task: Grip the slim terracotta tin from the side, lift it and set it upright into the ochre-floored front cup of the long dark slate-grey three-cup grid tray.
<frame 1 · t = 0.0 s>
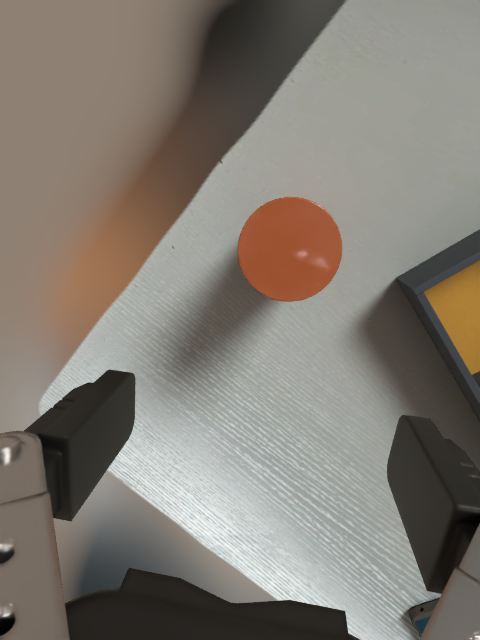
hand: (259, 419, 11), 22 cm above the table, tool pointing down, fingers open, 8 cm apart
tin: (289, 235, 32), on the table
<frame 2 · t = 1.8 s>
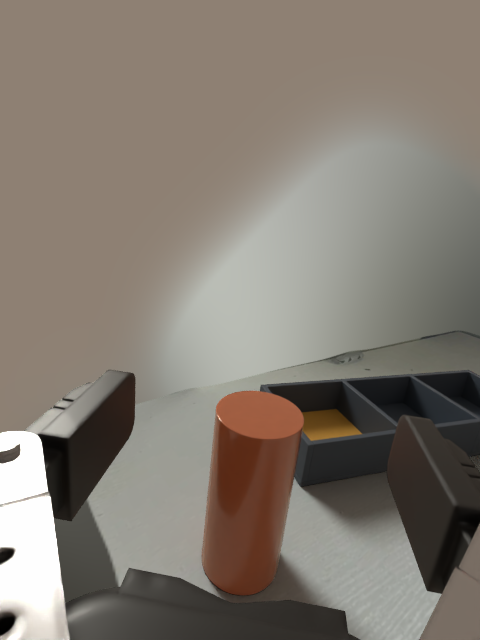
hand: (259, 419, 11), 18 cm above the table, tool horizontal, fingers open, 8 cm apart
grid: (398, 431, 45), on the table
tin: (239, 557, 27), on the table
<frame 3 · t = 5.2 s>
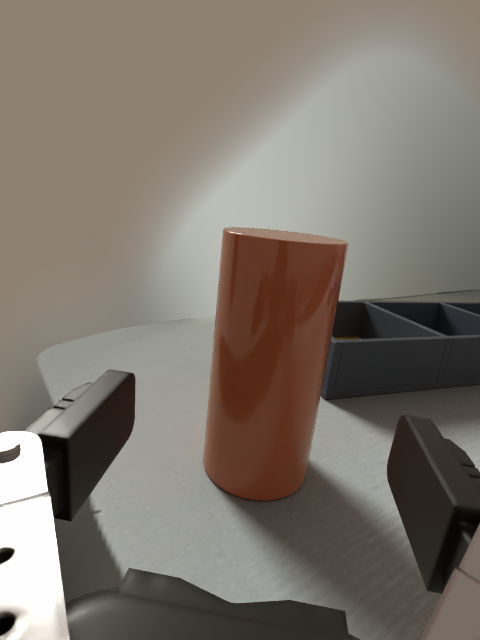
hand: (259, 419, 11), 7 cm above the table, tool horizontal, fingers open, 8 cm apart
grid: (432, 358, 39), on the table
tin: (254, 462, 20), on the table
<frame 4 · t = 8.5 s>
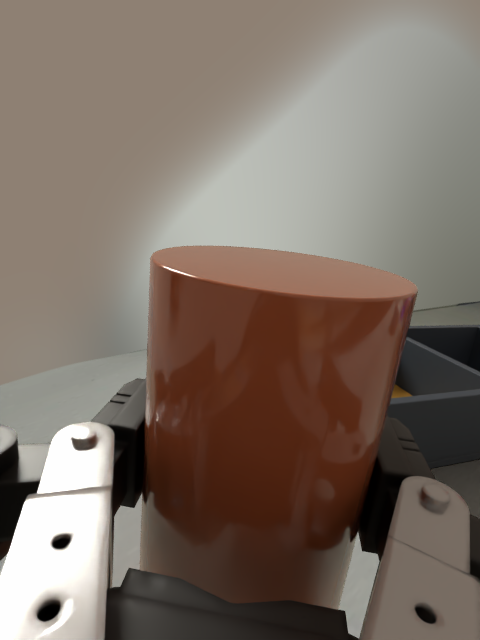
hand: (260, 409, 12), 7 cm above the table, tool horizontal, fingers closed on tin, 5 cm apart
grid: (473, 402, 30), on the table
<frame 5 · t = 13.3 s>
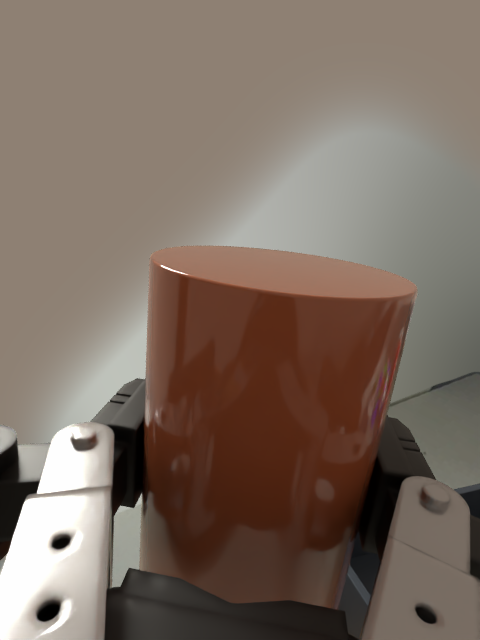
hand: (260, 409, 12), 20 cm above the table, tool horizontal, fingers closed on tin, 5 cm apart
grid: (416, 622, 26), on the table
when the fingers open (8 cm above the table, at t = 18.3 s): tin stays where it is, resting on grid.
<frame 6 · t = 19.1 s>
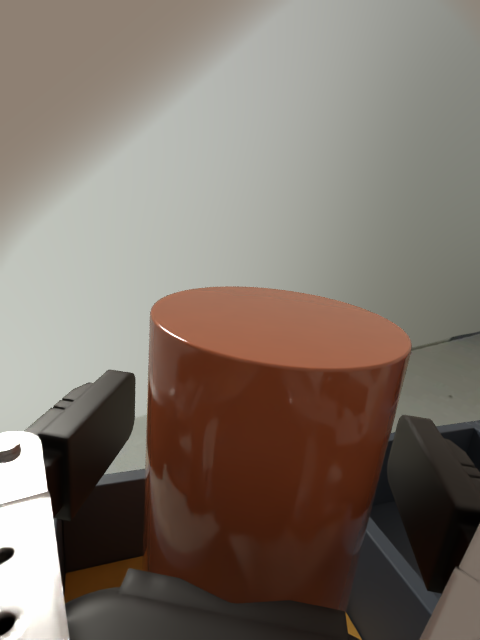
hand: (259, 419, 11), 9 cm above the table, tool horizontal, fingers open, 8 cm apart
grid: (464, 600, 16), on the table
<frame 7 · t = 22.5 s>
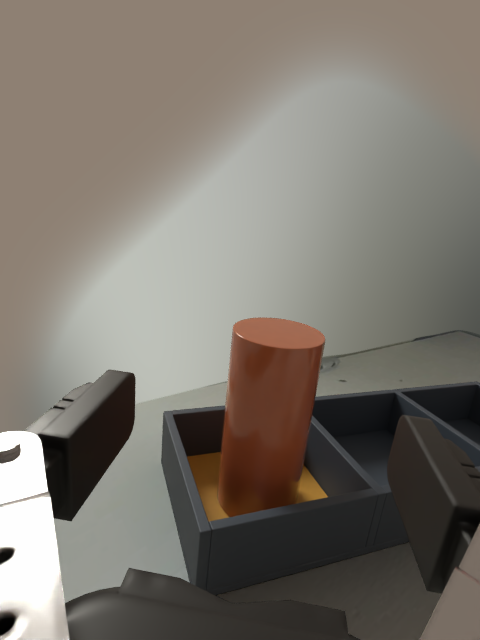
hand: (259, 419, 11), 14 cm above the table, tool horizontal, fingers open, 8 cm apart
grid: (377, 478, 30), on the table
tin: (256, 495, 26), point 1 cm above the table, touching grid
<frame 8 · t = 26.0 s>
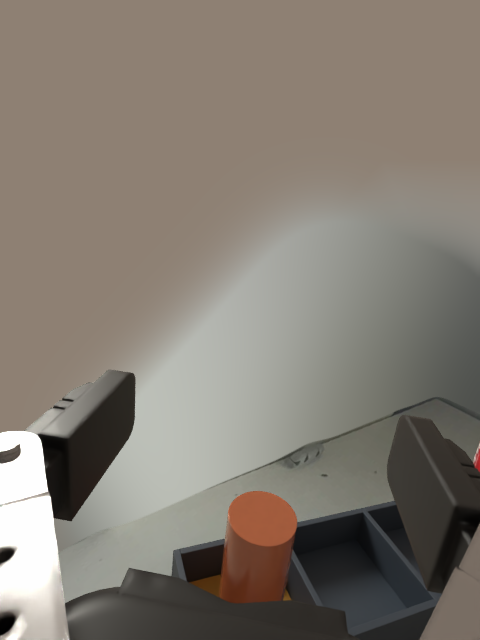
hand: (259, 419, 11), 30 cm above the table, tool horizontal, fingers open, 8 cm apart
grid: (344, 596, 38), on the table
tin: (246, 624, 34), point 1 cm above the table, touching grid
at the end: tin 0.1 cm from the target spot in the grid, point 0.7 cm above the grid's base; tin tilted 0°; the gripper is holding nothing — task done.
